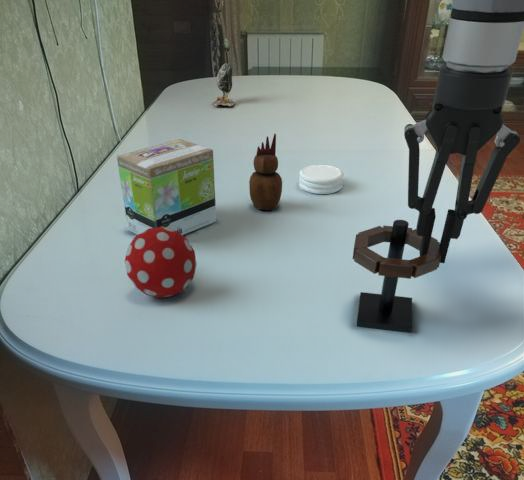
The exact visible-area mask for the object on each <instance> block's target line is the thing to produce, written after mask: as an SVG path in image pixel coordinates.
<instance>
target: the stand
mask: <svg viewBox="0 0 524 480" xmlns="http://www.w3.org/2000/svg"><path fill="white" fill-rule="evenodd" d="M392 226H393V228H392V234H391V240H390V242H389V246H388V252H387V256H386V258H394V259H403V255H404V251H405V246H406V244H405V241H406V235H407V230H408V228H409V221H407V220H405V219H395V220H394V221H393V223H392ZM398 281H399V277H389V276H383V281H382V287H381V293H374V292H364V291H363V292H362V291H361V292H360V293H359V301H358V309H357V317H356V324H355V325H356V327H362V328H370V329H377V330H384V331H385V330H387V331H395V332H401V333H402V332H403V333H412V332H413V329H414V322H413V320H414V319H413V317H414V316H413V297H409V296H399V295H396V292H397V288H398V287H397V286H398Z"/></svg>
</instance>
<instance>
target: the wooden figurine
mask: <svg viewBox="0 0 524 480" xmlns="http://www.w3.org/2000/svg"><path fill="white" fill-rule="evenodd" d="M260 146H261V147H260ZM260 146H257V149H256V154H255V156H254V158H253V168H254V171H253V172H252V174H251V175H250V177H249V182H248V183H249V184H248V185H249V188H248V189H249V197H250V201H251V202H252V205H253V207H255V208H256V209H258V210H261V211H271V210H272V211H273V210H274V209H276V208H277V207H278V205H279V203H280V202H281V201H280V200H281V197H282V193H283V179H282V176H281V175H280V173H279V172H277V170H278V168H279V160H278V159H279V158H278V157H277V155H276V149H277V134H276V133H274V134H273V138H272V140H271V145H270V138H269V136H266V140H265V145H264V142H263V141H262V142H261V145H260Z"/></svg>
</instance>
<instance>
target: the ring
mask: <svg viewBox="0 0 524 480" xmlns="http://www.w3.org/2000/svg"><path fill="white" fill-rule="evenodd" d="M392 228H393V225H383V226H381V225H378V226H375V227H372V228H368V229H366V230H363V231H359V232H358V233H356V234H355V237H354V238H355V239H354V244H353V252H352V260H353V262H355V263H356V264H358V265H359V266H361V267H363V268H364V269H366V270H367V271H368V272H370V273H372V274H374V275H375V274H378V276H381V277H384V276H389V277H398V279H399V278H401V279H409V280H410V279H412V278H413V279H417V278H420V277H422V276H424V275H427V274H429V273H432V272H435V271H436V270H438V268H439V267H440V264H441V263H440V260H441V250H440V242H441V241H439V240H438V239H437V238H435V237H434V236H431V240H430V244H429V249H428V252H427V254H425V255H422V256H420V255H419V256H417V257H414V258H411V259H403V258H402V259H394V258H387V257H384V256H383V255H381V254H379V253H377V252H375V251H374V250H372V249H370V247H373V246H376V245H379V244H382V243H390V240H391V234H392ZM422 238H423V236H417V231H416V228H415V229H413V227H408V230H407V235H406V241H405V245H408V246H409V247H412V248H413V249H415V250H417V251H419V252H420V247H421V242H422Z"/></svg>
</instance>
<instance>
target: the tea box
mask: <svg viewBox="0 0 524 480" xmlns="http://www.w3.org/2000/svg"><path fill="white" fill-rule="evenodd" d="M116 159H117V166H118V173H119V180H120V187H121V193H122V200H123V205H124V211H125V219H126V225H127V230H128V231H129V232H131V233H133V234H134V235H135V236H137V235H138V234H140V233H142V232H143V231H145V230H147V229H150V228H157V227H165V228H169V229H172V230H176V231H177V232H179V233H180V234H181V235H183V236H184V235H186V234H188V233H191V232H194V231H196V230H199V229H201V228H204V227H207V226H209V225H212V224H215V223H216V222H217V207H216V206H217V205H216V187H215V164H214V149H212V148H209V147H206V146H203V145H200V144H197V143H194V142H191V141H188V140H184V139H183V138H179V139H174V140H171V141H166V142H163V143H159V144H156V145H153V146H149V147H145V148H141V149H138V150H134V151H130V152H126V153H123V154H120V155H117V156H116Z"/></svg>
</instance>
